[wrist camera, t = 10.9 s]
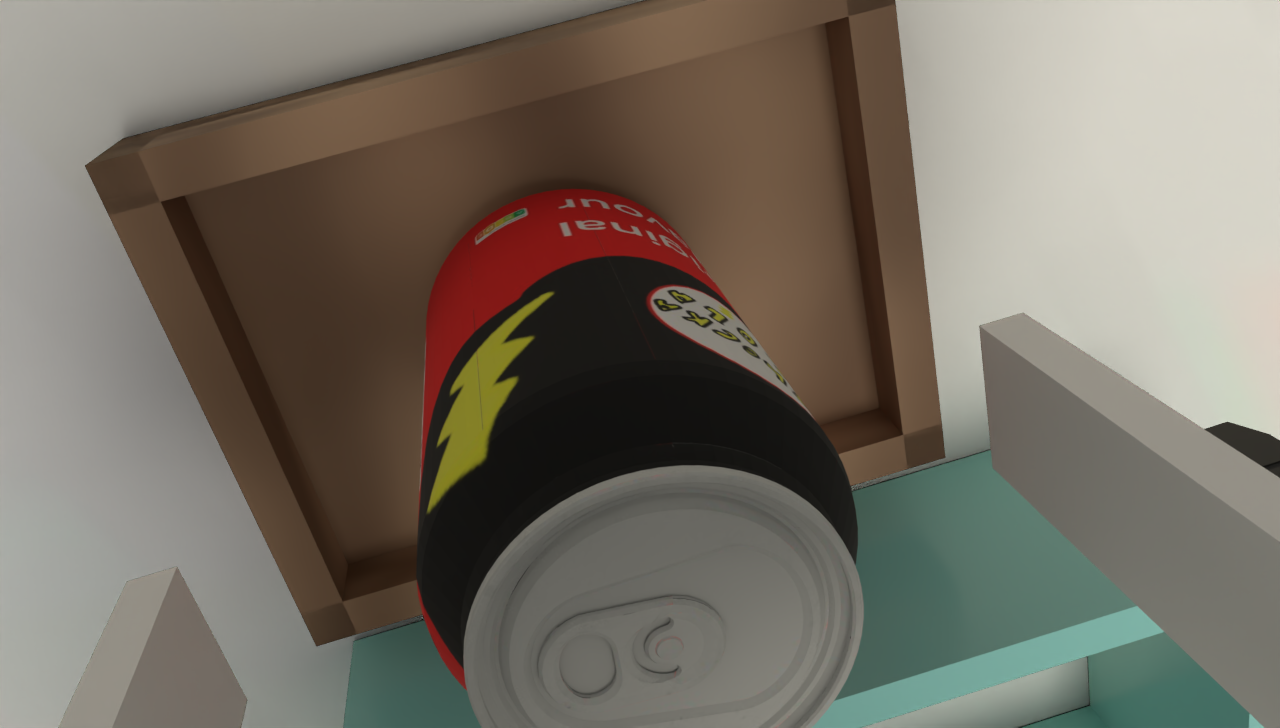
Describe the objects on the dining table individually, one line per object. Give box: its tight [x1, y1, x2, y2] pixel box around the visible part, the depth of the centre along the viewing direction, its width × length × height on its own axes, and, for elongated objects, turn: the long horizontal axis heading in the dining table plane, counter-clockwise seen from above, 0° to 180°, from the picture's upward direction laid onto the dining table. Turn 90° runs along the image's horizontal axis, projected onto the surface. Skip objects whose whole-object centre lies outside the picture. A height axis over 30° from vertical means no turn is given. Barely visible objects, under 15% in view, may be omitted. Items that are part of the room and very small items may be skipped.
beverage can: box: [416, 189, 864, 728], centre depth 18 cm, size 6×6×12 cm
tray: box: [85, 0, 945, 646], centre depth 23 cm, size 16×12×2 cm
